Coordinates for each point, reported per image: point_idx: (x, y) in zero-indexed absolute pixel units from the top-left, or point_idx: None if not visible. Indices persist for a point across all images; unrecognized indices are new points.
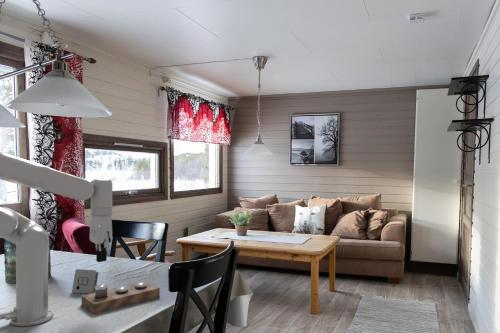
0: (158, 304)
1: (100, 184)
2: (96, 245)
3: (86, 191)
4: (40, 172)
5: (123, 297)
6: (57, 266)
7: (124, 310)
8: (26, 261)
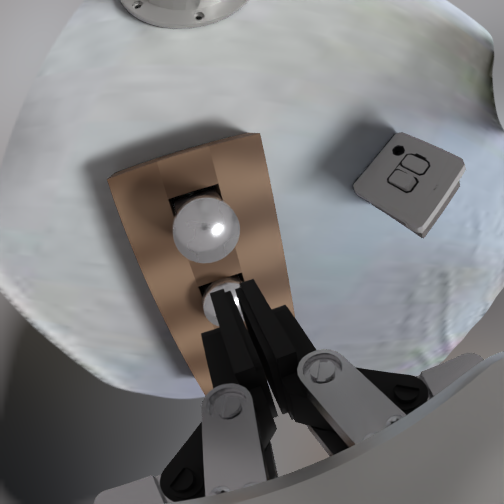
0: (135, 368)
1: None
2: (354, 403)
3: None
4: None
5: (154, 297)
6: None
7: (112, 278)
8: None
